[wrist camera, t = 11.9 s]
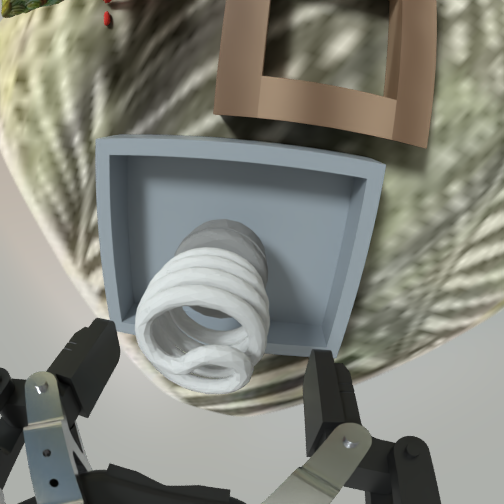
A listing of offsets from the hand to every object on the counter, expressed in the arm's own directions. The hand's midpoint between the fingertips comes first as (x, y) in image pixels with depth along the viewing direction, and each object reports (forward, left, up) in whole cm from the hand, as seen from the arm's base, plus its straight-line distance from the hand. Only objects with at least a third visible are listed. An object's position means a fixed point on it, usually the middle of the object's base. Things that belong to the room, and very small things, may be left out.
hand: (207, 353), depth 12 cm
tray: (0, 0, -12) cm, 12 cm away
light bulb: (0, 0, -11) cm, 11 cm away
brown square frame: (-5, -15, -12) cm, 20 cm away
